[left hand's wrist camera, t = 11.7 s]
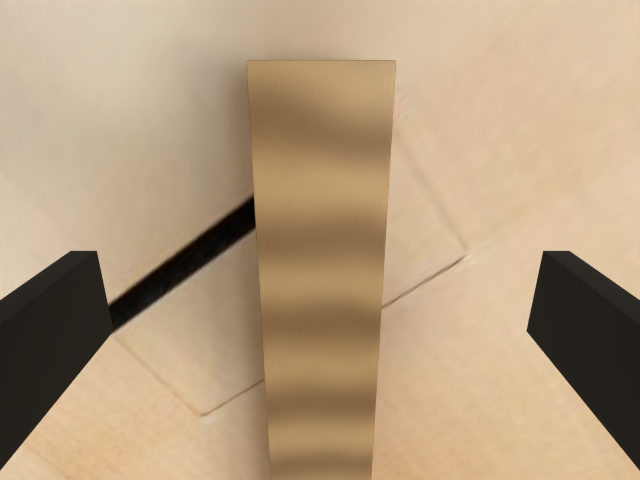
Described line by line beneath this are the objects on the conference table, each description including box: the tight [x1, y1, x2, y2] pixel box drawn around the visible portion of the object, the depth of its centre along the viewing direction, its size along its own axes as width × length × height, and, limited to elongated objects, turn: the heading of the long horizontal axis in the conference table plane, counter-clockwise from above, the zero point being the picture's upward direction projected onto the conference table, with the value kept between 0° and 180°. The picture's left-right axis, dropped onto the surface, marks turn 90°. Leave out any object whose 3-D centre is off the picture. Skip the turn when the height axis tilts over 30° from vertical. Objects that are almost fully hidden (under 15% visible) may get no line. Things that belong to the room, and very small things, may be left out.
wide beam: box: [246, 60, 396, 480], centre depth 38 cm, size 52×9×8 cm, turn 0°
